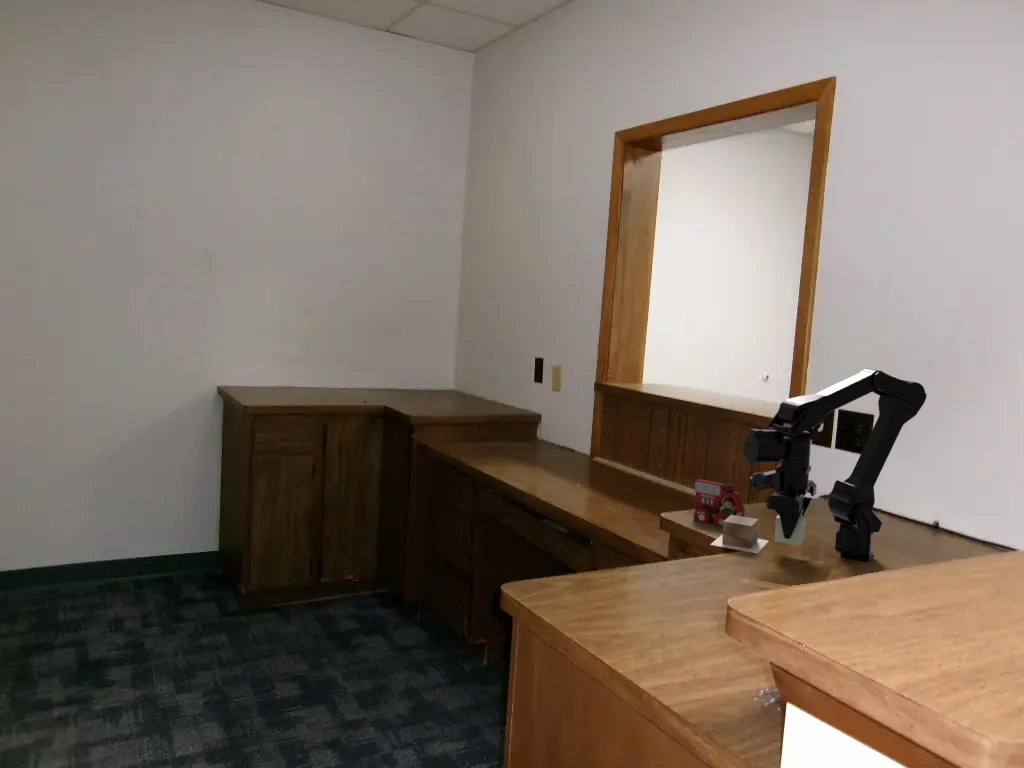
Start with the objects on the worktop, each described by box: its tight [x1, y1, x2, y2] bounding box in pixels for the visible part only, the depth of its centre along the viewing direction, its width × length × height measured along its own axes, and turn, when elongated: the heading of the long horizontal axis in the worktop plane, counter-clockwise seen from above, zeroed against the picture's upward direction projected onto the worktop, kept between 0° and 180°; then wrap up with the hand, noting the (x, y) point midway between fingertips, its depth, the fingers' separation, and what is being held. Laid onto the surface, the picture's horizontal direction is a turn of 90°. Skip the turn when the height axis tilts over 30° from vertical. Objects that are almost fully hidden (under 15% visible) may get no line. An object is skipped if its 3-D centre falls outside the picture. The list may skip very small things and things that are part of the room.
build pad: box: [710, 533, 769, 554], centre depth 174 cm, size 10×10×1 cm
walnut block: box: [722, 515, 760, 549], centre depth 173 cm, size 6×6×5 cm
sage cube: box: [774, 514, 807, 546], centre depth 165 cm, size 5×5×5 cm
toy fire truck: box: [693, 478, 746, 527], centre depth 189 cm, size 7×12×10 cm, turn 52°
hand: (790, 535), depth 165 cm, fingers closed on sage cube, 5 cm apart
